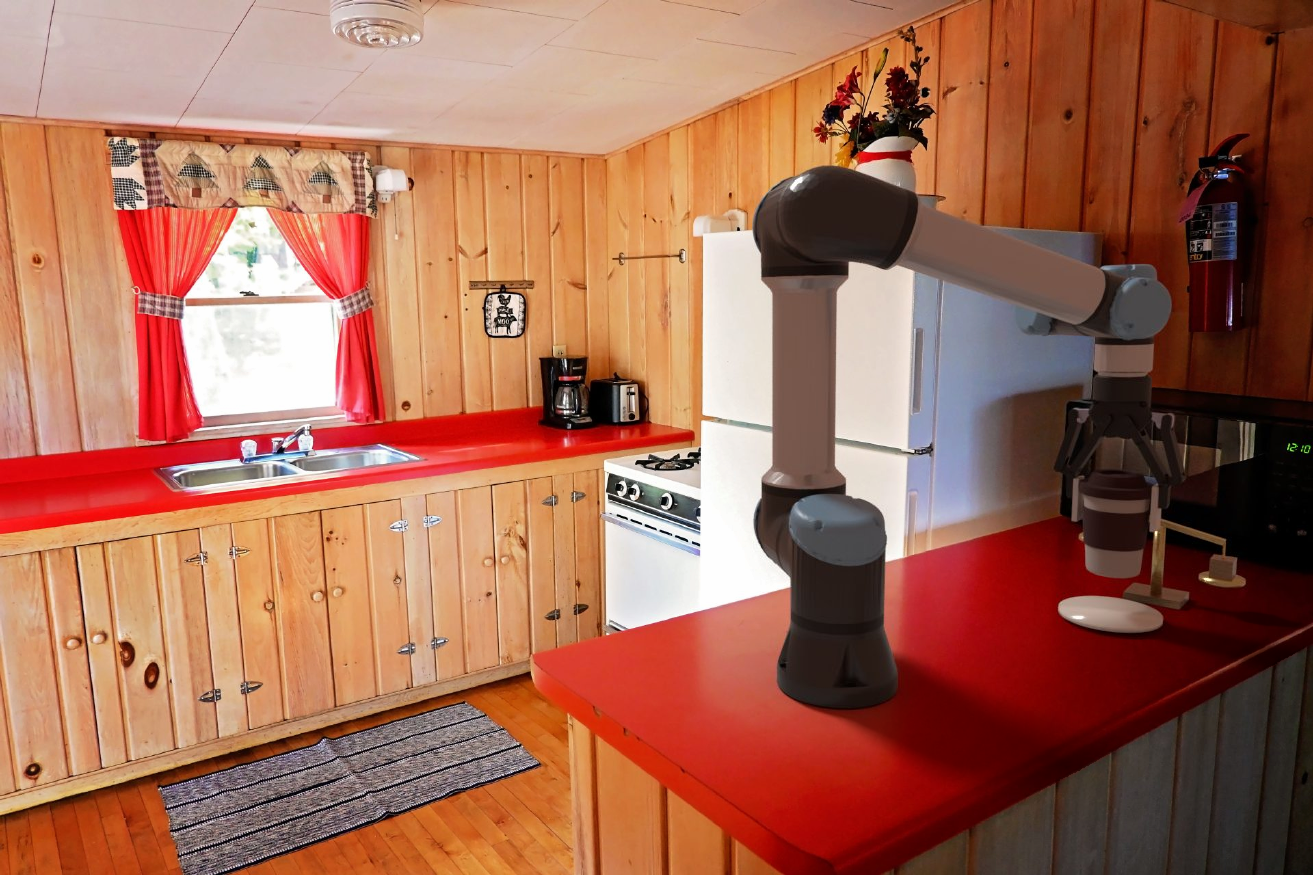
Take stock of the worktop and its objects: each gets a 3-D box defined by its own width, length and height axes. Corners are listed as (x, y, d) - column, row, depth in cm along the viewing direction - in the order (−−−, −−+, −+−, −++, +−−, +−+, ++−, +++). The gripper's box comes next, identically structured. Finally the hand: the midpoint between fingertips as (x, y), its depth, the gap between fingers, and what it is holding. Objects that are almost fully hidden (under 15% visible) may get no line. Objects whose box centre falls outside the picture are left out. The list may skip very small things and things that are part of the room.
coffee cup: (1079, 579, 132) (1084, 477, 130) (1072, 560, 141) (1076, 465, 139) (1156, 584, 129) (1162, 480, 126) (1143, 564, 138) (1149, 467, 136)
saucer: (1148, 644, 126) (1148, 635, 126) (1044, 622, 135) (1045, 614, 135) (1173, 616, 137) (1173, 608, 136) (1075, 598, 146) (1075, 590, 146)
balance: (1238, 620, 134) (1246, 522, 132) (1071, 589, 150) (1075, 501, 148) (1246, 609, 139) (1253, 514, 136) (1083, 580, 154) (1087, 495, 152)
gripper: (1218, 374, 126) (1208, 530, 129) (1050, 369, 141) (1045, 509, 144) (1206, 378, 120) (1196, 542, 124) (1033, 373, 135) (1028, 519, 138)
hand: (1114, 524), depth 134 cm, fingers closed on coffee cup, 10 cm apart
